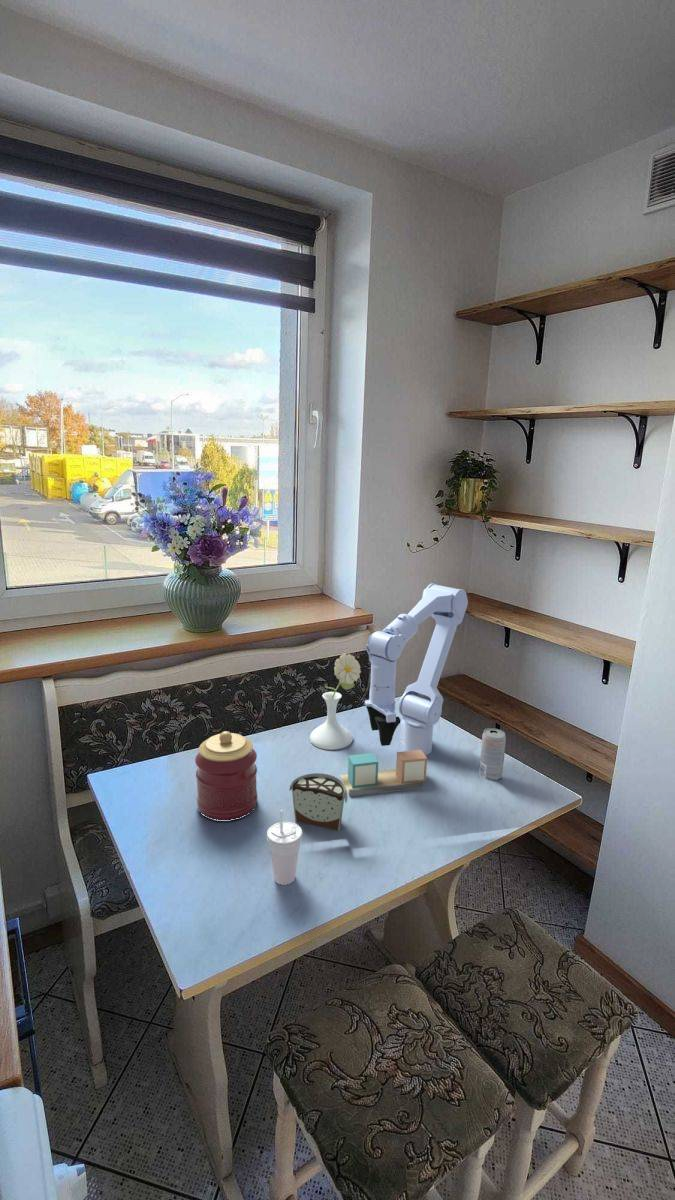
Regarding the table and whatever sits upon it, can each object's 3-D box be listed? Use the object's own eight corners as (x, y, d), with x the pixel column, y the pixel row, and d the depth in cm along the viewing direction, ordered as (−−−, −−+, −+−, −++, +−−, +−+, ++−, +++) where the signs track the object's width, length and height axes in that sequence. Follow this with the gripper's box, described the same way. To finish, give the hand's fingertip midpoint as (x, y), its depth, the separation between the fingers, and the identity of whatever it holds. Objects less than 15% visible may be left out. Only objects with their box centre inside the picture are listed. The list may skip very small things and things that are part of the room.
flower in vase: (314, 756, 153) (315, 663, 147) (305, 735, 164) (306, 648, 158) (363, 751, 156) (366, 660, 150) (352, 731, 167) (354, 645, 161)
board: (339, 779, 143) (340, 769, 143) (408, 772, 147) (408, 762, 146) (349, 800, 135) (349, 790, 134) (421, 792, 139) (421, 782, 138)
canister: (185, 805, 132) (181, 731, 127) (233, 782, 141) (231, 713, 137) (221, 831, 123) (218, 753, 119) (269, 805, 133) (269, 732, 128)
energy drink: (499, 773, 147) (504, 728, 144) (503, 785, 142) (508, 739, 139) (477, 772, 148) (481, 727, 145) (480, 783, 143) (484, 737, 140)
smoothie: (267, 866, 113) (266, 800, 110) (301, 865, 114) (302, 799, 110) (266, 891, 107) (265, 822, 104) (302, 889, 108) (303, 821, 104)
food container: (354, 820, 128) (355, 778, 125) (345, 837, 122) (346, 793, 120) (300, 808, 132) (300, 767, 129) (289, 824, 126) (289, 781, 124)
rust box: (395, 774, 143) (396, 752, 142) (419, 772, 145) (421, 749, 143) (401, 784, 140) (402, 760, 138) (425, 781, 141) (427, 758, 139)
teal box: (347, 778, 141) (348, 755, 140) (372, 776, 143) (373, 753, 141) (352, 788, 138) (353, 764, 136) (377, 785, 139) (378, 761, 137)
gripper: (357, 672, 145) (356, 724, 148) (375, 697, 131) (372, 753, 135) (386, 670, 146) (383, 722, 150) (405, 694, 133) (403, 750, 136)
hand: (380, 737), depth 142 cm, fingers open, 7 cm apart
